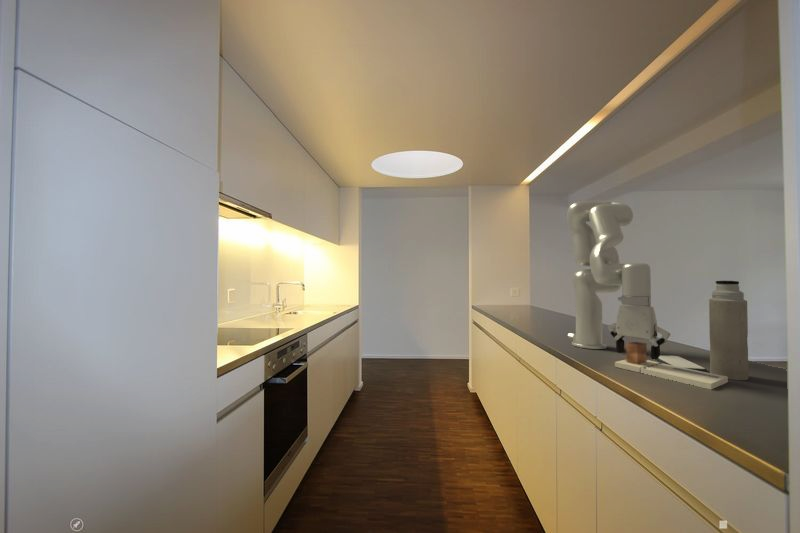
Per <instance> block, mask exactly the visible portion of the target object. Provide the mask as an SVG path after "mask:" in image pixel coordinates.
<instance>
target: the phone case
mask: <svg viewBox="0 0 800 533" xmlns="http://www.w3.org/2000/svg"><path fill="white" fill-rule="evenodd" d="M656 360H657V361H656ZM654 361H656V362H658V363H660V362H661V363H663V364H668V365H672V366H677V367H682V368H687V369H692V370H697V371H702V372H707V373H708V370H707V368H705V367H703V366H701V365H699V364H696V363H695V362H692V361H690V360H687V359H685V358H683V357H681V356H678V355H666V354H660V357H659V358H658V359H655V360H654Z"/></svg>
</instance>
